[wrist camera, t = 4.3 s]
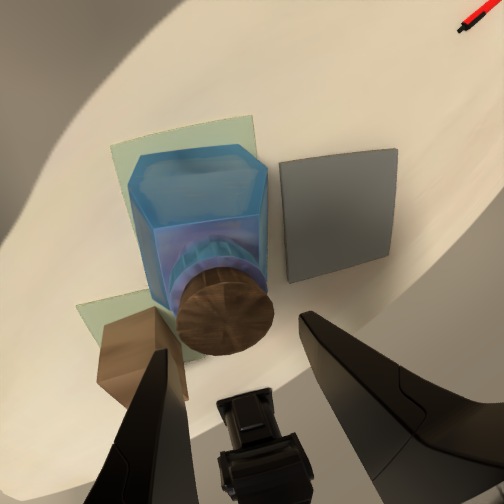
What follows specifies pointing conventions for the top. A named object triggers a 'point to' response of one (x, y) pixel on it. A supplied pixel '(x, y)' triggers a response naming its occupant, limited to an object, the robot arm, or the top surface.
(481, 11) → the pen
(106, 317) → the code mat
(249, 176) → the perfume bottle
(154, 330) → the walnut block
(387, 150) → the slate coaster
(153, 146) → the code mat
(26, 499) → the top surface
